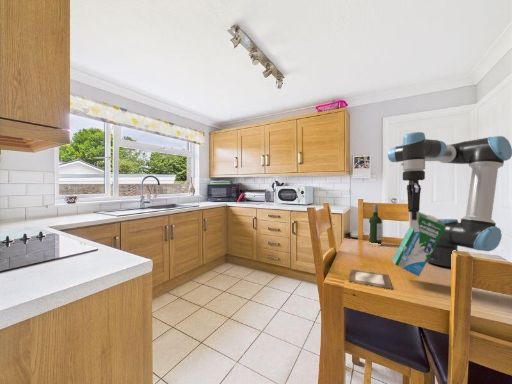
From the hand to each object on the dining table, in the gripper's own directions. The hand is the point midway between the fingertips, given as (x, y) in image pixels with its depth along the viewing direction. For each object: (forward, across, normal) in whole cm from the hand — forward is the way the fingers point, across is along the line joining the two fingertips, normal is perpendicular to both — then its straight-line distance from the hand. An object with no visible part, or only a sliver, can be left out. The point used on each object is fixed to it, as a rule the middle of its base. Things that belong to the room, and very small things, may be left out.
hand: (413, 227), depth 91 cm
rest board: (+25, 0, -16) cm, 29 cm away
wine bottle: (+25, -68, -10) cm, 73 cm away
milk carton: (+18, -3, -3) cm, 19 cm away
